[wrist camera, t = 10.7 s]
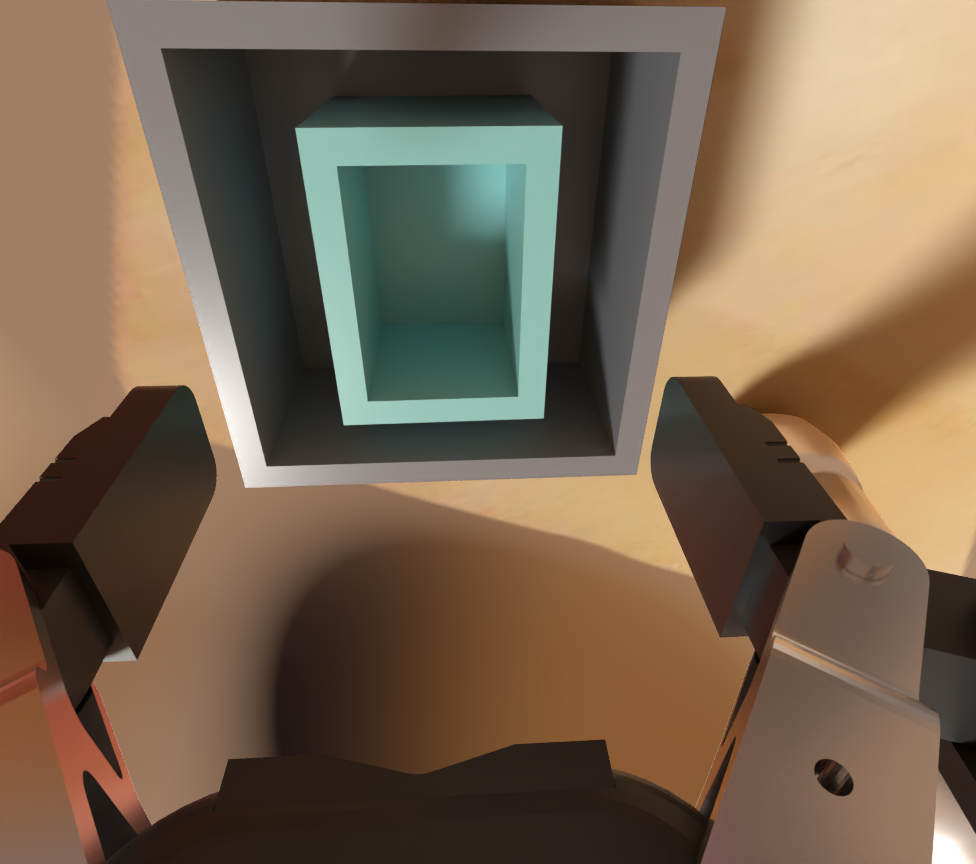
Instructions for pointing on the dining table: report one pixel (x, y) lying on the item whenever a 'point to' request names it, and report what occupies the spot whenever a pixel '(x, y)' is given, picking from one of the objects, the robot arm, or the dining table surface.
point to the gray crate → (288, 234)
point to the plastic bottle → (956, 848)
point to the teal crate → (435, 252)
